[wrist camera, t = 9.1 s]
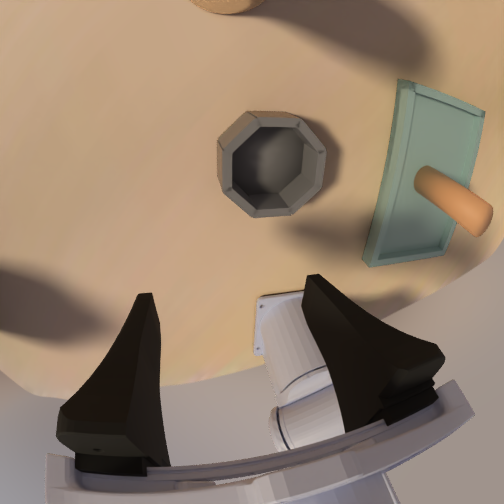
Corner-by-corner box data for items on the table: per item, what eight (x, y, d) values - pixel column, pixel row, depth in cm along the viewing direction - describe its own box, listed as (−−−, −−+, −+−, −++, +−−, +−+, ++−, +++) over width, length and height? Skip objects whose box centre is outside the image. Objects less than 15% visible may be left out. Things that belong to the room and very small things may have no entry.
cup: (302, 196, 23) (317, 213, 20) (217, 201, 22) (223, 220, 19) (311, 113, 19) (330, 120, 17) (217, 111, 18) (222, 117, 15)
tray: (436, 248, 31) (444, 255, 30) (361, 258, 28) (369, 267, 27) (475, 107, 21) (485, 111, 19) (397, 78, 18) (409, 80, 17)
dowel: (430, 193, 25) (485, 235, 18) (410, 193, 24) (467, 238, 18) (437, 166, 23) (496, 204, 17) (417, 164, 23) (479, 204, 16)
